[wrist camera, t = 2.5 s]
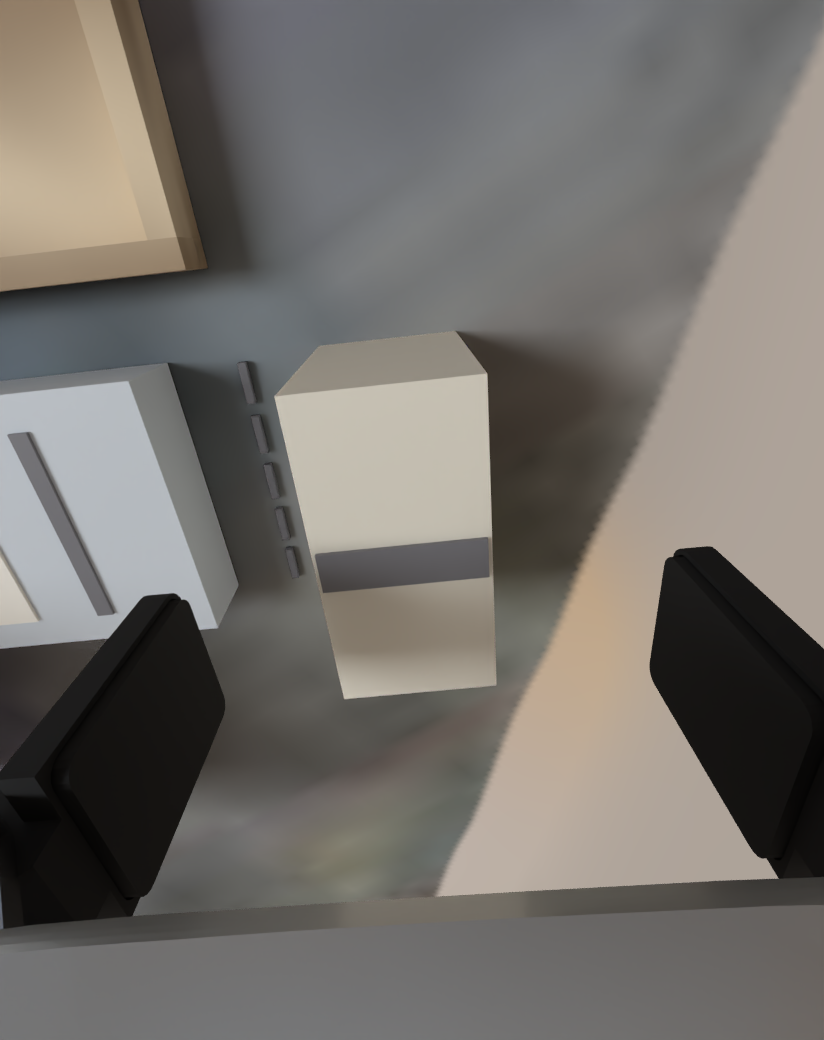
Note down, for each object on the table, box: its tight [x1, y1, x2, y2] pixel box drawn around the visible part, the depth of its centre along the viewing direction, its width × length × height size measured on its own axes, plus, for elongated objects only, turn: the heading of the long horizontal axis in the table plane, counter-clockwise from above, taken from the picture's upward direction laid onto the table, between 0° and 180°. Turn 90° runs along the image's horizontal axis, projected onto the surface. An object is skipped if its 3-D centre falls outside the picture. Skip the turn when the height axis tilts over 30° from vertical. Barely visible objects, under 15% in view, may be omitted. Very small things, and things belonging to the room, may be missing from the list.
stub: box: [274, 331, 496, 699], centre depth 14 cm, size 8×4×6 cm, turn 6°
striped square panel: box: [0, 363, 239, 649], centre depth 16 cm, size 8×10×2 cm
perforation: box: [237, 361, 300, 578], centre depth 16 cm, size 8×1×1 cm, turn 6°
